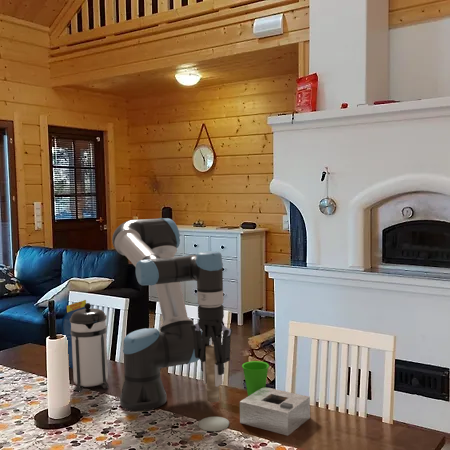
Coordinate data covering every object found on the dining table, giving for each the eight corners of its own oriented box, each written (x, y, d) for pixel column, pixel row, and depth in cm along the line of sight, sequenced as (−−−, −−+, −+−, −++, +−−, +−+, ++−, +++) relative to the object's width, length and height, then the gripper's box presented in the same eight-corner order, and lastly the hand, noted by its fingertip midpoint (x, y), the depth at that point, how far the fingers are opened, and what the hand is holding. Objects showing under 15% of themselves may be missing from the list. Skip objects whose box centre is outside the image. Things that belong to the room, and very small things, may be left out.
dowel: (204, 400, 162) (203, 347, 161) (211, 396, 165) (210, 343, 164) (214, 403, 160) (213, 348, 159) (221, 398, 163) (220, 345, 162)
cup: (268, 403, 178) (267, 370, 177) (240, 402, 180) (239, 369, 179) (271, 393, 186) (270, 361, 186) (244, 392, 188) (244, 360, 188)
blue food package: (63, 367, 219) (60, 305, 217) (82, 358, 230) (79, 299, 228) (75, 369, 217) (72, 306, 215) (94, 360, 228) (92, 300, 226)
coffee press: (123, 381, 202) (119, 300, 199) (90, 396, 188) (86, 309, 186) (89, 373, 211) (85, 296, 209) (56, 387, 197) (52, 304, 195)
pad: (192, 426, 162) (192, 425, 162) (210, 415, 170) (210, 414, 170) (217, 434, 157) (217, 432, 157) (235, 422, 164) (234, 420, 164)
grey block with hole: (240, 422, 164) (239, 399, 163) (264, 406, 175) (263, 384, 175) (288, 435, 155) (287, 411, 154) (310, 417, 166) (309, 394, 166)
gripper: (180, 304, 162) (182, 382, 164) (226, 310, 153) (229, 393, 154) (195, 299, 168) (198, 375, 170) (241, 305, 159) (243, 384, 161)
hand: (212, 383), depth 162 cm, fingers closed on dowel, 3 cm apart
